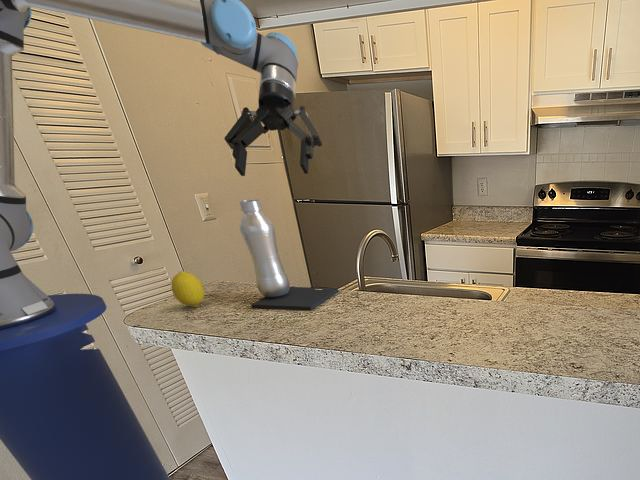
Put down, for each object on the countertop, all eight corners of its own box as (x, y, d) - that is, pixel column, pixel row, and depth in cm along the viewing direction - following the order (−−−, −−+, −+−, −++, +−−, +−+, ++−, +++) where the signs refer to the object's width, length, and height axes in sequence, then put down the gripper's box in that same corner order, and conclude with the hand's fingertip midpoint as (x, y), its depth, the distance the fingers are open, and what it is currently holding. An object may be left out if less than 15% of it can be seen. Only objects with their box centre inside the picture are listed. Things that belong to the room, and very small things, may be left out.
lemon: (174, 312, 85) (158, 275, 82) (190, 303, 90) (176, 267, 86) (200, 311, 85) (186, 274, 82) (215, 302, 90) (202, 267, 86)
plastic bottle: (275, 302, 87) (247, 203, 77) (253, 298, 89) (223, 202, 80) (298, 292, 92) (274, 199, 82) (277, 289, 94) (251, 198, 85)
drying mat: (251, 307, 86) (250, 304, 86) (284, 289, 97) (283, 286, 96) (311, 310, 84) (310, 306, 84) (338, 291, 94) (338, 288, 94)
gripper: (337, 107, 98) (335, 180, 92) (231, 110, 97) (222, 184, 91) (327, 78, 91) (324, 154, 85) (212, 81, 89) (202, 159, 83)
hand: (272, 170), depth 88 cm, fingers open, 13 cm apart
